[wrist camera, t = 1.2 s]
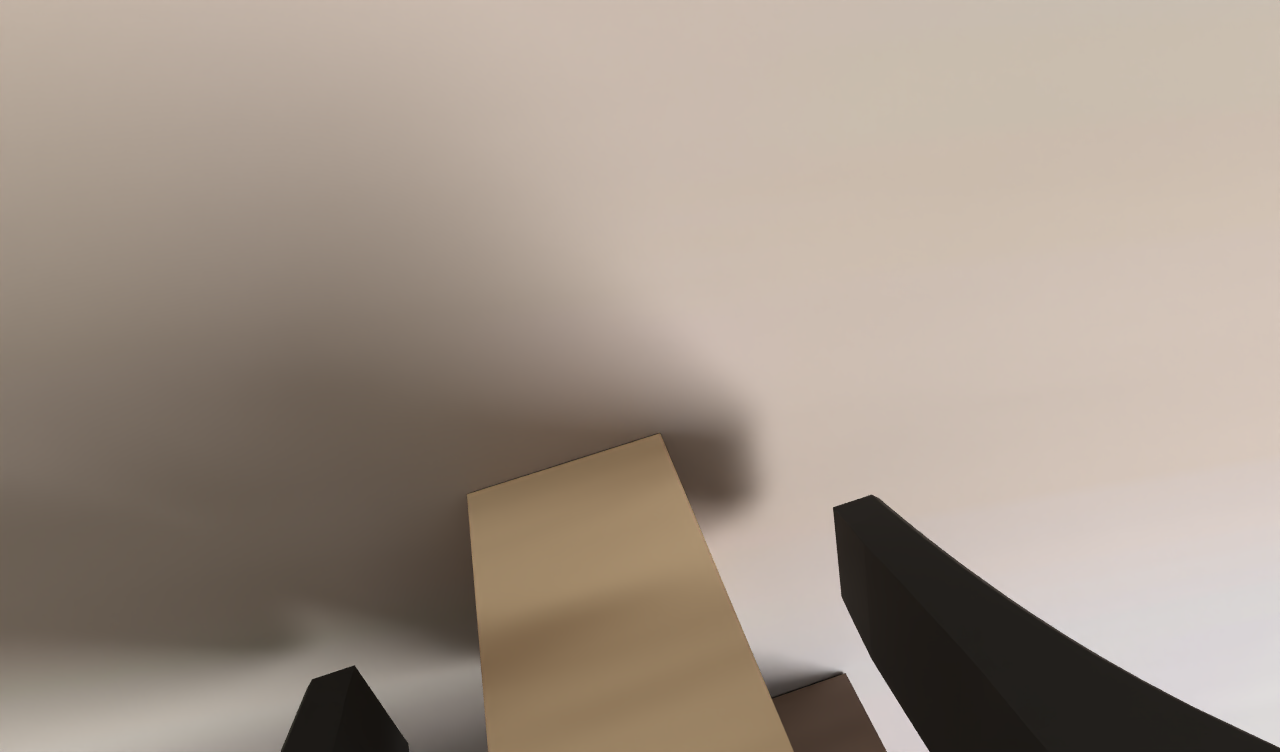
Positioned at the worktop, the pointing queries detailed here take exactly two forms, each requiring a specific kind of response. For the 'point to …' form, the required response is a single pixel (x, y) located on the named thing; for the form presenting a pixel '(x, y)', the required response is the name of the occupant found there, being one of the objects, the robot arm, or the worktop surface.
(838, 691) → the cabinet
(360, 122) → the worktop surface
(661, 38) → the worktop surface
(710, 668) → the wooden building block
